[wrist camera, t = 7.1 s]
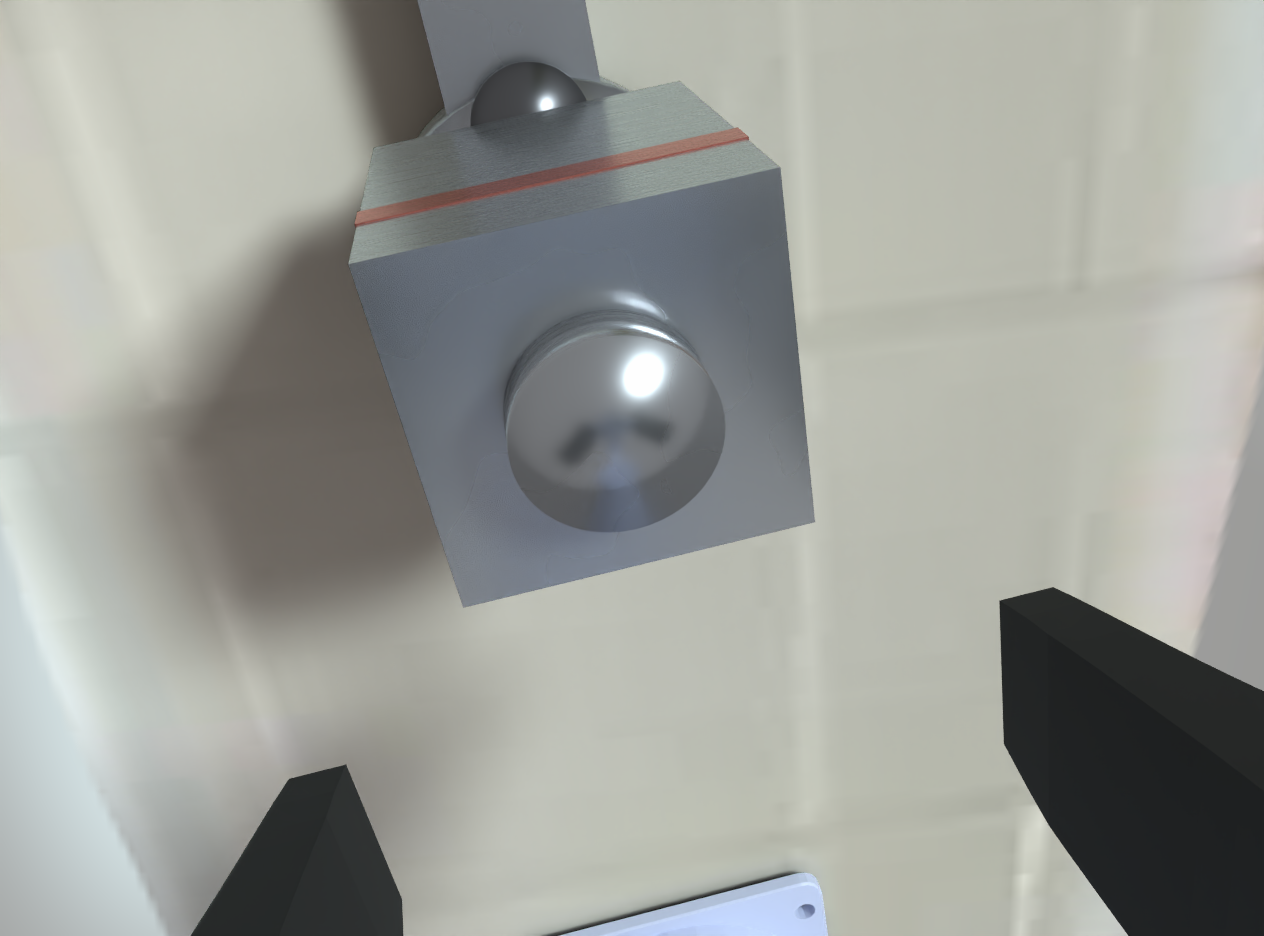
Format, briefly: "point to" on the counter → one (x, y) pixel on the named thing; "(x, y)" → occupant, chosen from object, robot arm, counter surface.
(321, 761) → the counter surface
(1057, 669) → the robot arm
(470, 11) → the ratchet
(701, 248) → the striped cube with knob
